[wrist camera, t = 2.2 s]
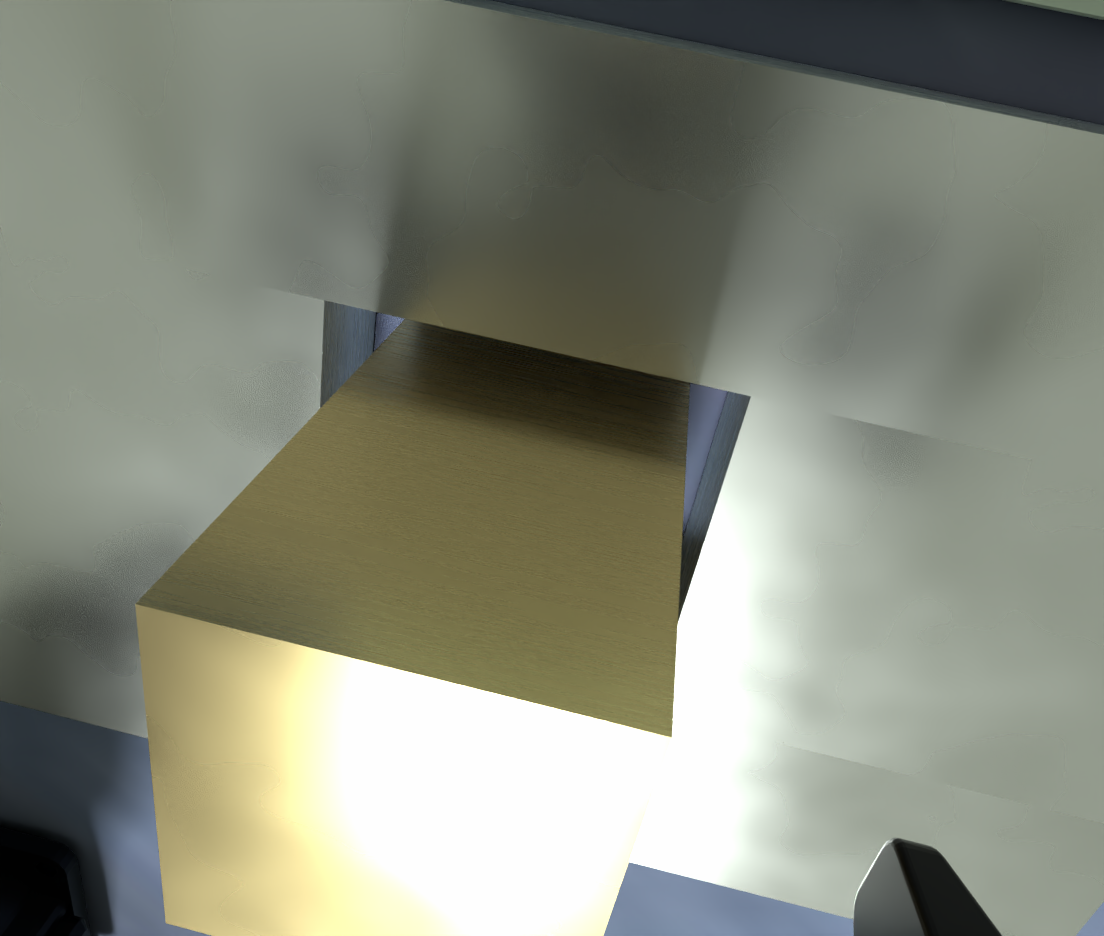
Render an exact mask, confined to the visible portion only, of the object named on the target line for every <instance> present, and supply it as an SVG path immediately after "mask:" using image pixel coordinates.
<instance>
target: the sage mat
mask: <svg viewBox="0 0 1104 936" xmlns="http://www.w3.org/2000/svg"><path fill="white" fill-rule="evenodd" d="M1004 1H1009V2H1014V3H1019V4H1024V5H1029V6H1034V7H1040V8H1045V9H1050V10H1055V11H1060V12H1065V13H1070V14H1075V15H1080V16H1085V17H1090V18H1095V19H1100V20H1104V0H1004Z"/></svg>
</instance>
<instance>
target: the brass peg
mask: <svg viewBox="0 0 1104 936" xmlns="http://www.w3.org/2000/svg"><path fill="white" fill-rule="evenodd" d="M689 390H690V383H689V382H685V381H681V380H676V379H672V378H667V377H663V376H658V375H654V374H649V373H645V372H641V371H636V370H632V369H627V368H623V367H618V366H614V365H609V364H605V363H601V362H596V361H592V360H587V359H583V358H578V357H574V356H569V355H565V354H561V353H556V352H552V351H547V350H543V349H538V348H534V347H529V346H525V345H521V344H516V343H512V342H507V341H503V340H498V339H494V338H489V337H485V336H481V335H476V334H472V333H467V332H463V331H458V330H454V329H449V328H445V327H441V326H436V325H432V324H427V323H423V322H418V321H414V320H409V319H404V321H403V322H402V323H401V324H400V325H399V326H398V327H397V328H396V329H395V330H394V331H393V332H392V333H391V334H390V335H389V336H388V337H387V339H386V340H385V341H384V342H383V343H382V344H381V345H380V346H379V347H378V348H377V349H376V350H375V351H374V352H373V353H372V354H371V355H370V356H369V358H368V359H367V360H366V361H365V362H364V363H363V364H362V365H361V366H360V367H359V368H358V369H357V370H356V371H355V372H354V373H353V374H352V375H351V377H350V378H349V379H348V380H347V381H346V382H345V383H344V384H343V385H342V386H341V387H340V388H339V389H338V390H337V391H336V392H335V393H334V395H333V396H332V397H331V398H330V399H329V400H328V401H327V402H326V403H325V404H324V405H323V406H322V407H321V408H320V409H319V410H318V411H317V412H316V414H315V415H314V416H313V417H312V418H311V419H310V420H309V421H308V422H307V423H306V424H305V425H304V426H303V427H302V428H301V429H300V430H299V432H298V433H297V434H296V435H295V436H294V437H293V438H292V439H291V440H290V441H289V442H288V443H287V444H286V445H285V446H284V447H283V448H282V449H281V451H280V452H279V453H278V454H277V455H276V456H275V457H274V458H273V459H272V460H271V461H270V462H269V463H268V464H267V465H266V466H265V467H264V468H263V470H262V471H261V472H260V473H259V474H258V475H257V476H256V477H255V478H254V479H253V480H252V481H251V482H250V483H249V484H248V485H247V486H246V488H245V489H244V490H243V491H242V492H241V493H240V494H239V495H238V496H237V497H236V498H235V499H234V500H233V501H232V502H231V503H230V504H229V505H228V507H227V508H226V509H225V510H224V511H223V512H222V513H221V514H220V515H219V516H218V517H217V518H216V519H215V520H214V521H213V522H212V523H211V524H210V526H209V527H208V528H207V529H206V530H205V531H204V532H203V533H202V534H201V535H200V536H199V537H198V538H197V539H196V540H195V541H194V542H193V544H192V545H191V546H190V547H189V548H188V549H187V550H186V551H185V552H184V553H183V554H182V555H181V556H180V557H179V558H178V559H177V560H176V561H175V563H174V564H173V565H172V566H171V567H170V568H169V569H168V570H167V571H166V572H165V573H164V574H163V575H162V576H161V577H160V578H159V579H158V581H157V582H156V583H155V584H154V585H153V586H152V587H151V588H150V589H149V590H148V591H147V592H146V593H145V594H144V595H143V596H142V597H141V598H140V600H139V601H138V602H137V603H136V604H135V607H136V618H137V628H138V639H139V649H140V659H141V670H142V680H143V691H144V701H145V711H146V722H147V732H148V742H149V753H150V763H151V774H152V784H153V794H154V805H155V815H156V826H157V836H158V846H159V857H160V867H161V878H162V888H163V898H164V909H165V919H166V923H167V924H171V925H175V926H179V927H182V928H186V929H190V930H193V931H197V932H201V933H205V934H208V935H212V936H603V934H604V932H605V929H606V926H607V923H608V920H609V917H610V914H611V911H612V909H613V906H614V903H615V900H616V897H617V894H618V891H619V889H620V886H621V883H622V880H623V877H624V874H625V871H626V868H627V866H628V863H629V860H630V857H631V854H632V851H633V848H634V845H635V843H636V840H637V837H638V834H639V831H640V828H641V825H642V823H643V820H644V817H645V814H646V811H647V808H648V805H649V802H650V800H651V797H652V794H653V791H654V788H655V785H656V782H657V779H658V777H659V774H660V771H661V768H662V765H663V762H664V759H665V756H666V754H667V751H668V748H669V745H670V742H671V739H672V728H673V708H674V689H675V669H676V649H677V629H678V609H679V589H680V569H681V549H682V530H683V510H684V490H685V470H686V450H687V430H688V410H689Z"/></svg>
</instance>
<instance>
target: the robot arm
mask: <svg viewBox="0 0 1104 936" xmlns="http://www.w3.org/2000/svg"><path fill="white" fill-rule="evenodd" d="M853 924H854V936H1002V935H1001V933H1000V932H999V930H998V929H997V928H996V926H995V925H994V924H993V922H992V921H991V920H990V918H989V917H988V916H987V914H986V913H985V912H984V910H983V909H982V907H981V906H980V905H979V903H978V902H977V901H976V899H975V898H974V897H973V895H972V894H971V893H970V891H969V890H968V889H967V887H966V886H965V884H964V883H963V882H962V880H961V879H960V878H959V876H958V875H957V874H956V872H955V871H954V870H953V868H952V867H951V866H950V864H949V863H948V861H947V860H946V859H945V857H944V856H943V855H942V854H941V853H940V852H939V851H938V850H937V849H935V848H933V847H931V846H928V845H925V844H921V843H917V842H913V841H909V840H905V839H901V838H892V839H890V840H888V841H886V843H885V844H884V845H883V847H882V848H881V850H880V852H879V854H878V855H877V857H876V859H875V860H874V862H873V864H872V866H871V867H870V869H869V871H868V873H867V874H866V876H865V878H864V879H863V881H862V883H861V885H860V887H859V889H858V891H857V894H856V897H855V903H854V911H853ZM0 936H91V933H90V928H89V922H88V916H87V910H86V904H85V899H84V893H83V887H82V881H81V875H80V870H79V864H78V859H77V857H76V855H75V854H74V853H73V852H72V850H71V849H69V848H68V847H66V846H65V845H63V844H61V843H58V842H55V841H52V840H48V839H44V838H40V837H36V836H33V835H29V834H25V833H21V832H18V831H14V830H10V829H6V828H2V827H0Z"/></svg>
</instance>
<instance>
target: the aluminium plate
mask: <svg viewBox="0 0 1104 936" xmlns="http://www.w3.org/2000/svg"><path fill="white" fill-rule="evenodd" d="M376 312H378V313H383V314H387V315H392V316H396V317H401V318H405V319H409V320H414V321H418V322H423V323H427V324H432V325H436V326H441V327H445V328H449V329H454V330H458V331H463V332H467V333H472V334H476V335H481V336H485V337H489V338H494V339H498V340H503V341H507V342H512V343H516V344H521V345H525V346H529V347H534V348H538V349H543V350H547V351H552V352H556V353H561V354H565V355H569V356H574V357H578V358H583V359H587V360H592V361H596V362H601V363H605V364H609V365H614V366H618V367H623V368H627V369H632V370H636V371H641V372H645V373H649V374H654V375H658V376H663V377H667V378H672V379H676V380H681V381H685V382H689V383H694V384H698V385H703V386H707V387H712V388H716V389H721V390H725V391H728V393H727V397H726V400H725V403H724V406H723V410H722V413H721V416H720V420H719V423H718V426H717V429H716V433H715V436H714V439H713V442H712V446H711V449H710V452H709V456H708V459H707V462H706V465H705V469H704V472H703V475H702V478H701V482H700V485H699V488H698V492H697V495H696V498H695V501H694V505H693V508H692V511H691V514H690V518H689V521H688V524H687V528H686V531H685V534H684V537H683V541H682V549H681V569H680V589H679V609H678V629H677V649H676V669H675V689H674V708H673V728H672V739H671V742H670V745H669V748H668V751H667V754H666V756H665V759H664V762H663V765H662V768H661V771H660V774H659V777H658V779H657V782H656V785H655V788H654V791H653V794H652V797H651V800H650V802H649V805H648V808H647V811H646V814H645V817H644V820H643V823H642V825H641V828H640V831H639V834H638V837H637V840H636V843H635V845H634V848H633V851H632V854H631V857H630V860H629V862H632V863H636V864H639V865H643V866H647V867H651V868H655V869H659V870H663V871H667V872H671V873H675V874H679V875H682V876H686V877H690V878H694V879H698V880H702V881H706V882H710V883H714V884H718V885H721V886H725V887H729V888H733V889H737V890H741V891H745V892H749V893H753V894H757V895H760V896H764V897H768V898H772V899H776V900H780V901H784V902H788V903H792V904H796V905H800V906H803V907H807V908H811V909H815V910H819V911H823V912H827V913H831V914H835V915H839V916H842V917H846V918H850V919H853V911H854V903H855V897H856V894H857V891H858V889H859V887H860V885H861V883H862V881H863V879H864V878H865V876H866V874H867V873H868V871H869V869H870V867H871V866H872V864H873V862H874V860H875V859H876V857H877V855H878V854H879V852H880V850H881V848H882V847H883V845H884V844H885V843H886V841H888V840H890V839H892V838H901V839H905V840H909V841H913V842H917V843H921V844H925V845H928V846H931V847H933V848H935V849H937V850H938V851H939V852H940V853H941V854H942V855H943V856H944V857H945V859H946V860H947V861H948V863H949V864H950V866H951V867H952V868H953V870H954V871H955V872H956V874H957V875H958V876H959V878H960V879H961V880H962V882H963V883H964V884H965V886H966V887H967V889H968V890H969V891H970V893H971V894H972V895H973V897H974V898H975V899H976V901H977V902H978V903H979V905H980V906H981V907H982V909H983V910H984V912H985V913H986V914H987V916H988V917H989V918H990V920H991V921H992V922H993V924H994V925H995V926H996V928H997V929H998V930H999V932H1000V933H1001V935H1002V936H1076V934H1077V933H1078V932H1079V931H1080V930H1081V928H1082V927H1083V926H1084V925H1085V924H1086V922H1087V921H1088V920H1089V919H1090V917H1091V916H1092V915H1093V914H1094V913H1095V911H1096V910H1097V909H1098V908H1099V907H1100V905H1101V904H1102V903H1103V902H1104V125H1101V124H1096V123H1091V122H1086V121H1081V120H1076V119H1071V118H1066V117H1061V116H1057V115H1052V114H1047V113H1042V112H1037V111H1032V110H1027V109H1022V108H1017V107H1012V106H1007V105H1002V104H998V103H993V102H988V101H983V100H978V99H973V98H968V97H963V96H958V95H953V94H948V93H943V92H939V91H934V90H929V89H924V88H919V87H914V86H909V85H904V84H899V83H894V82H889V81H884V80H880V79H875V78H870V77H865V76H860V75H855V74H850V73H845V72H840V71H835V70H830V69H825V68H821V67H816V66H811V65H806V64H801V63H796V62H791V61H786V60H781V59H776V58H771V57H766V56H762V55H757V54H752V53H747V52H742V51H737V50H732V49H727V48H722V47H717V46H712V45H708V44H703V43H698V42H693V41H688V40H683V39H678V38H673V37H668V36H663V35H658V34H653V33H649V32H644V31H639V30H634V29H629V28H624V27H619V26H614V25H609V24H604V23H599V22H594V21H590V20H585V19H580V18H575V17H570V16H565V15H560V14H555V13H550V12H545V11H540V10H535V9H531V8H526V7H521V6H516V5H511V4H506V3H501V2H496V1H491V0H0V701H3V702H7V703H11V704H15V705H19V706H23V707H27V708H31V709H34V710H38V711H42V712H46V713H50V714H54V715H58V716H62V717H66V718H70V719H73V720H77V721H81V722H85V723H89V724H93V725H97V726H101V727H105V728H109V729H112V730H116V731H120V732H124V733H128V734H132V735H136V736H140V737H144V738H148V732H147V722H146V711H145V701H144V691H143V680H142V670H141V659H140V649H139V639H138V628H137V618H136V607H135V604H136V603H137V602H138V601H139V600H140V598H141V597H142V596H143V595H144V594H145V593H146V592H147V591H148V590H149V589H150V588H151V587H152V586H153V585H154V584H155V583H156V582H157V581H158V579H159V578H160V577H161V576H162V575H163V574H164V573H165V572H166V571H167V570H168V569H169V568H170V567H171V566H172V565H173V564H174V563H175V561H176V560H177V559H178V558H179V557H180V556H181V555H182V554H183V553H184V552H185V551H186V550H187V549H188V548H189V547H190V546H191V545H192V544H193V542H194V541H195V540H196V539H197V538H198V537H199V536H200V535H201V534H202V533H203V532H204V531H205V530H206V529H207V528H208V527H209V526H210V524H211V523H212V522H213V521H214V520H215V519H216V518H217V517H218V516H219V515H220V514H221V513H222V512H223V511H224V510H225V509H226V508H227V507H228V505H229V504H230V503H231V502H232V501H233V500H234V499H235V498H236V497H237V496H238V495H239V494H240V493H241V492H242V491H243V490H244V489H245V488H246V486H247V485H248V484H249V483H250V482H251V481H252V480H253V479H254V478H255V477H256V476H257V475H258V474H259V473H260V472H261V471H262V470H263V468H264V467H265V466H266V465H267V464H268V463H269V462H270V461H271V460H272V459H273V458H274V457H275V456H276V455H277V454H278V453H279V452H280V451H281V449H282V448H283V447H284V446H285V445H286V444H287V443H288V442H289V441H290V440H291V439H292V438H293V437H294V436H295V435H296V434H297V433H298V432H299V430H300V429H301V428H302V427H303V426H304V425H305V424H306V423H307V422H308V421H309V420H310V419H311V418H312V417H313V416H314V415H315V414H316V412H317V411H318V410H319V409H320V408H321V407H322V406H323V405H324V404H325V403H326V402H327V401H328V400H329V399H330V398H331V397H332V396H333V395H334V393H335V392H336V391H337V390H338V389H339V388H340V387H341V386H342V385H343V384H344V383H345V382H346V381H347V380H348V379H349V378H350V377H351V375H352V374H353V373H354V372H355V371H356V370H357V369H358V368H359V367H360V366H361V365H362V364H363V363H364V362H365V361H366V360H367V359H368V358H369V356H370V355H371V354H372V353H373V343H374V329H375V315H376Z"/></svg>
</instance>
